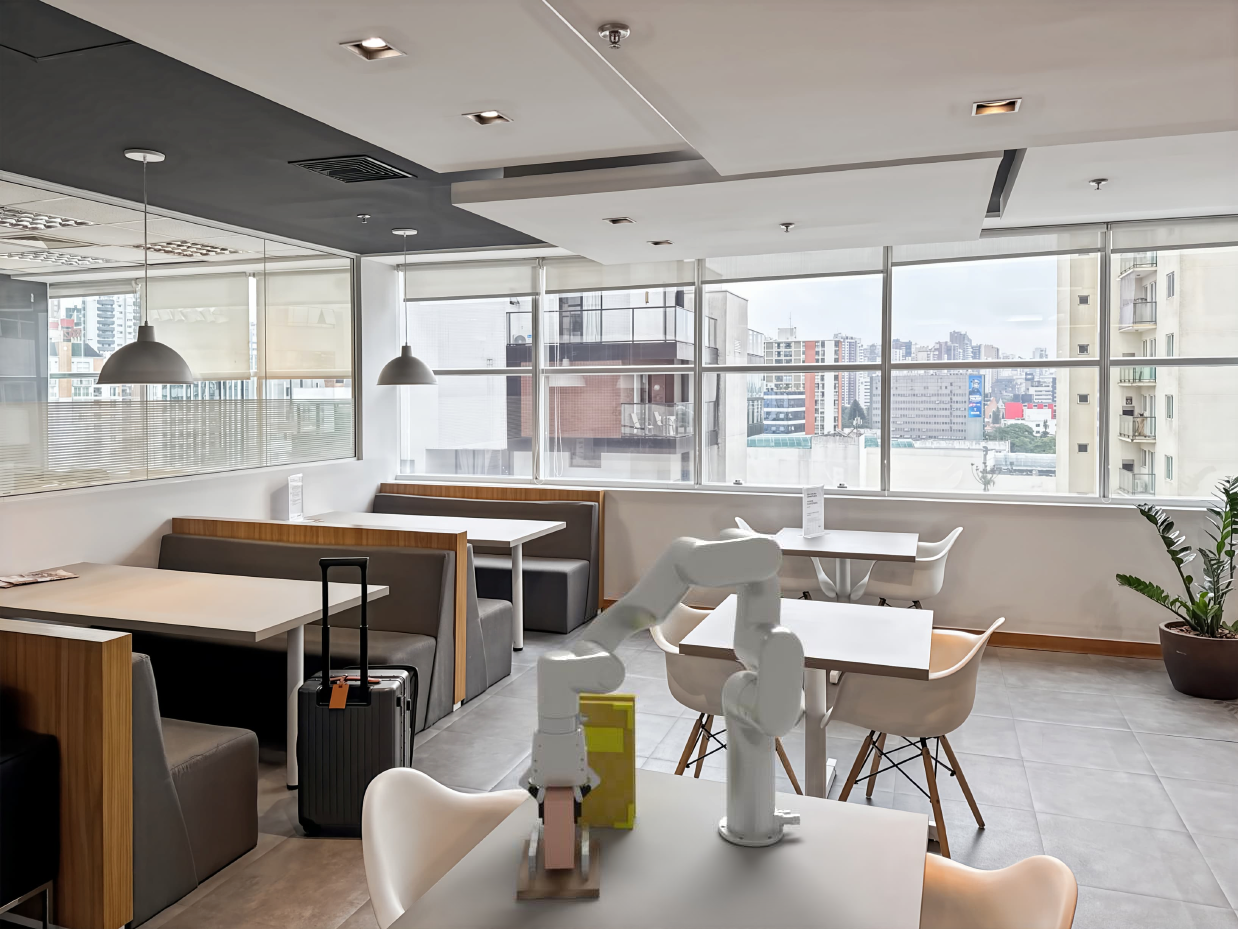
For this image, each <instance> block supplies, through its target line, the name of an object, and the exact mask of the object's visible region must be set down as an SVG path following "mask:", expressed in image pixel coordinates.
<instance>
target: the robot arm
mask: <svg viewBox="0 0 1238 929" xmlns="http://www.w3.org/2000/svg"><path fill="white" fill-rule="evenodd" d="M782 563H783V552H782V549H781V547H780V545H779V544H778V542H777V541H776V540H775V539H774V538H772V537H771V536H769V535H765V534H762V533H758V532H753V531H752V530H751V531H750V530H747V529H742V528H733V527H732V528H731V527H730V528H725V529H722V530H721V531H720V532H718V533H717V535H716V537H715V538H714V541H707V540H704V539H700V538H696V537H691V536H680V537H678V538H675V539H673V541H671V542H670V543H669V544H668V545H667V546H666V547H665V549H664V550H663V551H662V552H661V554H660V555H659V556H658V557H657V558H656V560H655V561H654V562H653V563H652V565H651V566H650V567H649V569H648V570H647V571H646V572H645V573H644V575H642V577H641V578H640V579H639V581H638V582H637V583H636V585H635V586H633V588H632V589H631V590H630V591H629V592H628V593H627V594H626V595H625V596H623V597H622V598H620V599H618V600H617V601H616V602H614V603H613V604H612V605H610V606H609V607H607V608H606V609H605V610H603V611H602V612H601V613H600V614H598V615H597V616H596V617H595V618H594V619H593V620H592V622H590V623H589V624H588V626H587V627H586V628H585V630H584V631H583V632H582V633H581V635H580V636H579V637H578V639H577V640H576V641H575V642H574V644H573V645H572V647H571V649H570V651H567V650H552V651H547V652H546V651H545V653H542V654H541V655H539V657H538V659H537V662H536V683H537V684H536V686H537V687H536V688H537V689H536V690H537V726H535V727H534V729H533V732H532V733H533V734H532V740H531V754H530V757H531V758H530V764H529V766H528V768H527V769H525V771H524V773H523V774H522V775H521V777H520V778H519V779H518V785H519V786H520V788H523V790H525V791H527V792H528V794H529V795H530V796H532V798H534V799H535V801H536V803H537V806H538V811H537V812H538V815H537V816H538V819H541V824H542V825H543V826H544V798H545V791H546V788H547V787H572V788H573V790H574V794H575V797H574V823H575V824H578V817H582V801H583V798H584V797H585V796H586V795H587V794H588V793H589V792H590V791H591V790H592V789H593V788H595V787H596V786H597V785H598V784H600V782H601V781H600V777H599V775H598V774H597V773H596V772H595V771H594V769H593V768H592V767H591V766H590V765H589V764H588V756H587V742H586V735H585V730H584V727H583V726H582V725H581V723H584V722H588V715H584V714H581V712H580V702H579V694H610V693H613V692H616V690H618V689H619V688H620V687H621V686H622V685H623V683H624V682H625V678H626V668H625V665H624V663H623V661H622V660H621V659H620V658H619V657H618V656H617V655H616V654H615V653H614V652H615V651H616V650H617V649H618V648H619V646H620V645H621V644H623V642H624V641H626V640H627V639H628V638H630V637H631V636H633V635H634V634H635V633H638V632H640V631H643V630H644V631H645V630H647V629H650V628H655V627H657V626H661V625H662V624H664V623H666V621H668V619H669V618H670V617H671V615H672V614H673V613H674V611H676V609H677V608H678V606H679V605H680V604H681V603H682V601H683V600H684V599H685V598H686V597H687V595H688V594H689V593H690V591H691V590H692V589H693V588H694V587H696V588H699V589H705V590H709V589H710V590H711V589H712V590H713V589H720V588H721V589H722V588H728V587H734V586H735V588H736V612H735V622H734V632H733V633H734V634H733V641H732V642H733V645H732V646H733V652H734V654H735V656H736V658H737V659H738V660H739V661H740V662H742V663H743V664H744V665H746V666H748V667H750V668H752V669H753V670H755V671H756V672H755V671H751V670H741V671H737V672H735V673H733V674H732V675H730V676H729V677H728V679H726V681H725V683H724V685H723V687H722V693H721V705H722V710H723V717H724V724H725V733H726V735H725V736H726V739H725V740H726V744H725V745H726V754H725V755H726V756H725V757H726V763H725V764H726V770H725V771H726V775H725V776H726V783H725V784H726V815H725V816H723V817H722V818H721V819H720V821H718V832H719V834H720V835H721V836H722V838H723V839H725V840H726V841H728V842H731V843H733V844H736V845H740V846H745V847H753V848H755V847H757V848H758V847H764V846H765V847H766V846H769V845H773V844H775V843H777V842H779V841H780V840H781V839H782V838H783V835H784V827H785V825H787V826H788V825H790V826H800V824H801V817H800V814H799V813H796V814H795V813H794V814H793V813H792V812H791V810H790V809H784V810H779V809H777V807H776V753H777V752H776V738H783V737H785V736H786V735H788V734H789V733H791V731H792V730H793V729H794V728H795V726H796V724H797V722H798V719H799V717H800V716H799V715H800V712H801V706H802V705H801V704H802V695H803V694H802V693H803V685H804V672H805V662H806V661H805V652H804V651H805V650H804V648H803V647H804V646H803V643H802V642H801V639H800V638H799V637H798V636H797V634H796V633H795V632H793V631H792V630H791V629H789V628H786V627H785V626H782V624H781V608H782V607H781V606H782V592H781V584H780V579H779V577H778V574H777V572H778V571H779V569H780V568H781V566H782ZM587 776H588V777H589V778H590V779H591V780H589V782H587ZM586 782H587V783H586ZM581 785H583V786H582V787H581ZM791 813H792V814H791Z"/></svg>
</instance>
